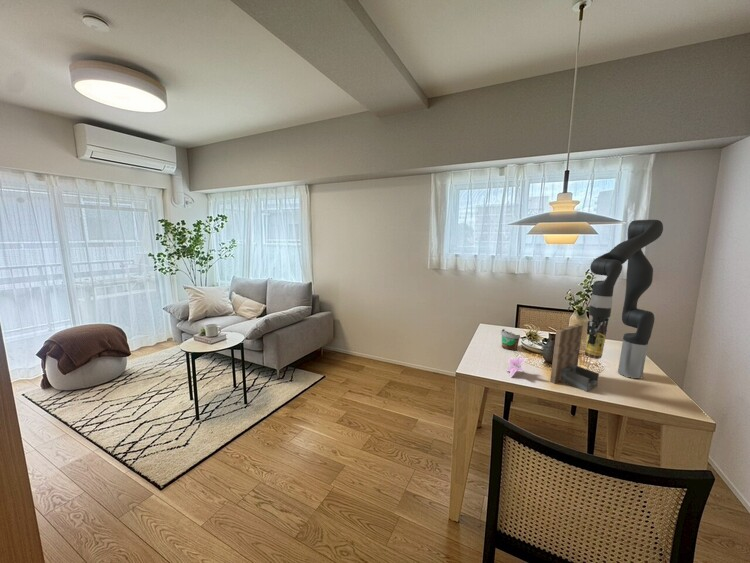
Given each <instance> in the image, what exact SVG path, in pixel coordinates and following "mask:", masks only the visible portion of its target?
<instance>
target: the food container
mask: <svg viewBox="0 0 750 563" xmlns="http://www.w3.org/2000/svg"><path fill="white" fill-rule="evenodd" d="M500 335H501V348H502V349H503V350H506V351H513V352H515V351H517V350H518V346H519V342H520V339H521V335H520V334H515V333H513V332H512V331H507V330H505V328H503V329H501V331H500Z"/></svg>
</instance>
